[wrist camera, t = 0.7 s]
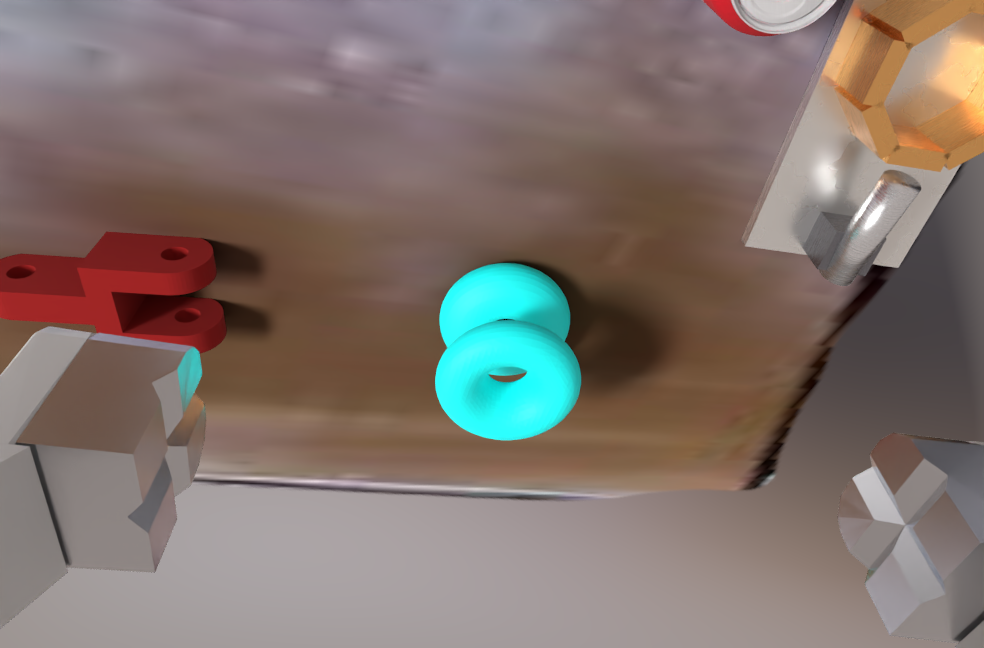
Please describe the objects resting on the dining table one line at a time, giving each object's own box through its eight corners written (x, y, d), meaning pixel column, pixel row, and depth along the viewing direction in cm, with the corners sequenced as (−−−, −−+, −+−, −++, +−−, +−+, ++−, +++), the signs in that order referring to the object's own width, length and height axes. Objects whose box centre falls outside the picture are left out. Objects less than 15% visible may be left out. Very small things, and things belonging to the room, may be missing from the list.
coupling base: (953, -248, 35) (1025, -252, 31) (1165, -199, 37) (1266, -196, 32) (740, 240, 52) (766, 285, 47) (891, 262, 53) (930, 307, 49)
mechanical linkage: (221, 237, 52) (200, 275, 48) (234, 316, 56) (215, 357, 52) (-8, 222, 50) (-50, 259, 46) (22, 303, 55) (-13, 344, 51)
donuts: (551, 460, 51) (418, 432, 49) (541, 369, 59) (426, 342, 57) (607, 359, 46) (458, 323, 44) (587, 274, 54) (460, 240, 52)
